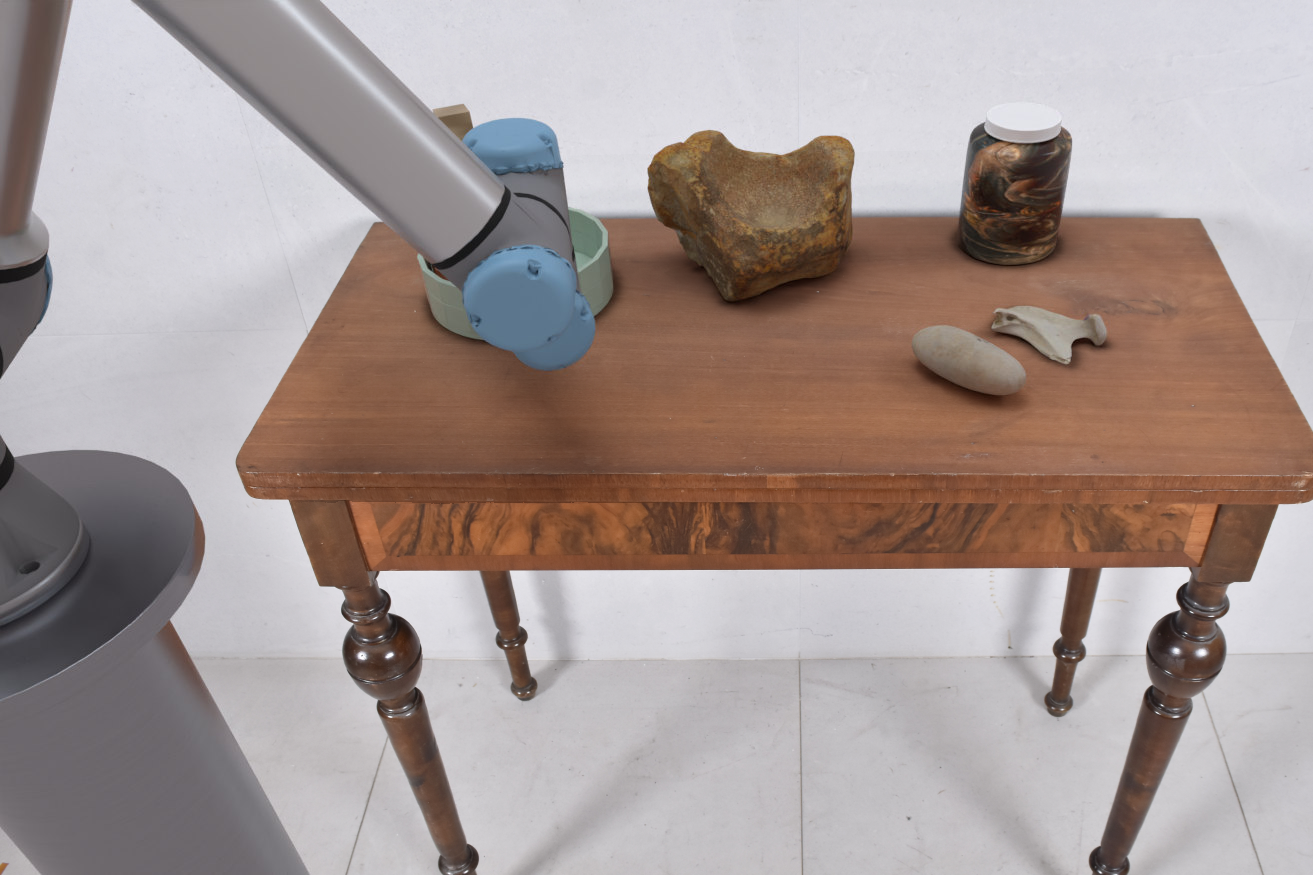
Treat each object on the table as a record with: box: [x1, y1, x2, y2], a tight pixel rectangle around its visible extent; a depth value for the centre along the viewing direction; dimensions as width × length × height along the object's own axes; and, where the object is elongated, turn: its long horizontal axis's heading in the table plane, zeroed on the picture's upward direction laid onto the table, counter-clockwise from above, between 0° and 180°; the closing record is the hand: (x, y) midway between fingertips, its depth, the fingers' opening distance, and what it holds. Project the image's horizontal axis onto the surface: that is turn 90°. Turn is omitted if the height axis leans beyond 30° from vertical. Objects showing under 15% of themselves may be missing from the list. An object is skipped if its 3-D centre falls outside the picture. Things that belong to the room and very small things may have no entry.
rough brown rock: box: [647, 129, 856, 302], centre depth 117 cm, size 23×17×15 cm
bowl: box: [416, 206, 615, 341], centre depth 118 cm, size 20×20×6 cm
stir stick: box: [432, 103, 474, 141], centre depth 113 cm, size 3×3×16 cm
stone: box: [911, 324, 1027, 396], centre depth 103 cm, size 6×6×12 cm
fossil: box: [991, 305, 1108, 365], centre depth 110 cm, size 7×11×4 cm, turn 50°
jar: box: [956, 101, 1073, 266], centre depth 122 cm, size 12×12×15 cm
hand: (458, 166), depth 116 cm, fingers closed on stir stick, 3 cm apart
